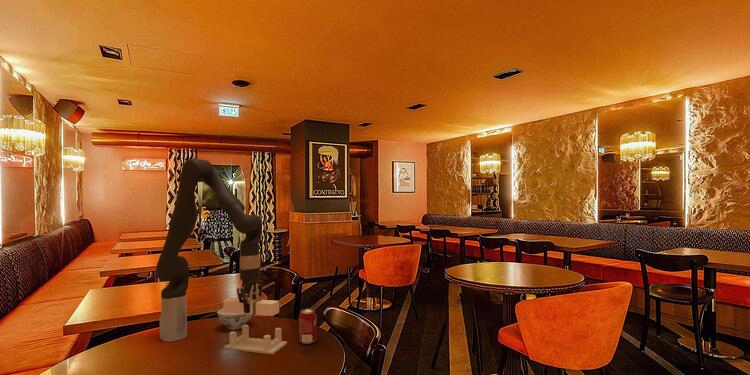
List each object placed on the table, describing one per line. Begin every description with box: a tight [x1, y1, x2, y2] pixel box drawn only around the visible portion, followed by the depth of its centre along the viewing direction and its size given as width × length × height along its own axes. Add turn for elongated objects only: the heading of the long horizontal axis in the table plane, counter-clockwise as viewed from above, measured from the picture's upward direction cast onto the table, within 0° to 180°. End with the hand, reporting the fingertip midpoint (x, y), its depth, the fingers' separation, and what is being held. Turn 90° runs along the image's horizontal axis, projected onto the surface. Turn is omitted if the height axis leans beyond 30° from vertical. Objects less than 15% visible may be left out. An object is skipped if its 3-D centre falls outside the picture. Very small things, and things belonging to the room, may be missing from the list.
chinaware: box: [216, 307, 253, 331], centre depth 167 cm, size 15×15×8 cm
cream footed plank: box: [224, 324, 288, 355], centre depth 145 cm, size 21×10×6 cm, turn 73°
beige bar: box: [222, 297, 280, 317], centre depth 146 cm, size 22×4×4 cm, turn 73°
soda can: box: [298, 308, 318, 345], centre depth 148 cm, size 7×7×12 cm
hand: (251, 310), depth 146 cm, fingers closed on beige bar, 4 cm apart
